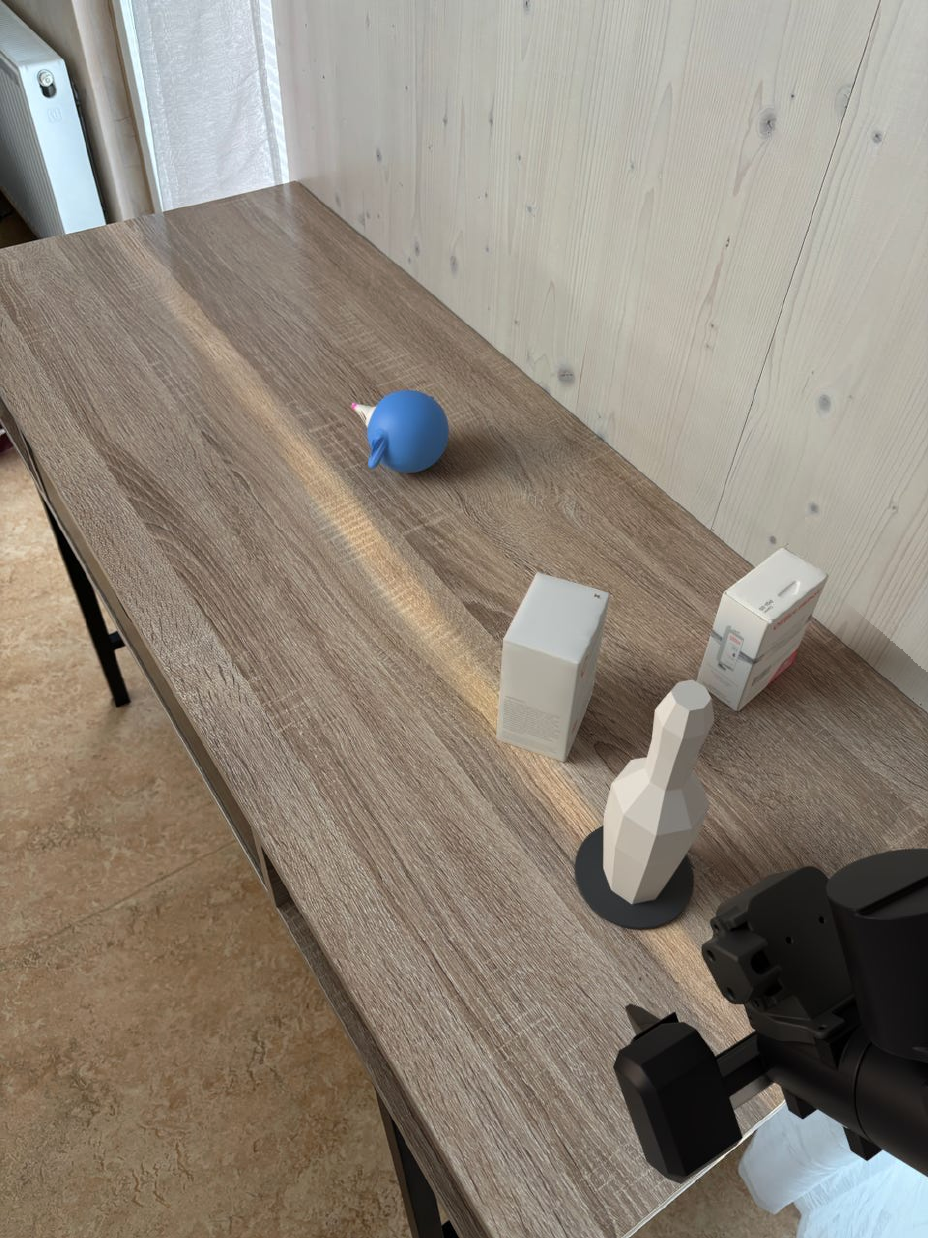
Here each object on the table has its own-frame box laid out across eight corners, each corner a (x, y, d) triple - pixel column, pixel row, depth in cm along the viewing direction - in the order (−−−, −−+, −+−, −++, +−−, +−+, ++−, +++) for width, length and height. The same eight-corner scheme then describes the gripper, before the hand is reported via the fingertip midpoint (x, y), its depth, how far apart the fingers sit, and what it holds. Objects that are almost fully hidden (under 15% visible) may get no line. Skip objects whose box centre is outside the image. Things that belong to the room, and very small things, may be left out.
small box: (525, 672, 90) (536, 568, 81) (593, 694, 89) (613, 591, 79) (493, 741, 85) (501, 638, 76) (565, 765, 84) (582, 664, 74)
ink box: (751, 634, 94) (784, 541, 86) (795, 664, 92) (833, 572, 83) (692, 682, 90) (721, 589, 81) (737, 715, 88) (771, 623, 79)
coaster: (715, 905, 76) (716, 903, 75) (608, 947, 73) (609, 945, 73) (655, 808, 81) (656, 805, 81) (554, 844, 79) (555, 842, 78)
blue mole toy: (387, 411, 116) (385, 347, 110) (472, 450, 112) (474, 385, 106) (318, 463, 110) (311, 398, 103) (405, 507, 105) (404, 442, 99)
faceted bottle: (694, 888, 76) (767, 709, 60) (628, 929, 74) (685, 755, 58) (641, 825, 80) (696, 640, 63) (576, 862, 77) (616, 680, 61)
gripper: (1002, 821, 46) (776, 778, 60) (675, 1024, 39) (509, 920, 54) (1067, 1040, 47) (830, 946, 62) (761, 1272, 41) (576, 1105, 55)
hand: (694, 973), depth 58 cm, fingers open, 9 cm apart
